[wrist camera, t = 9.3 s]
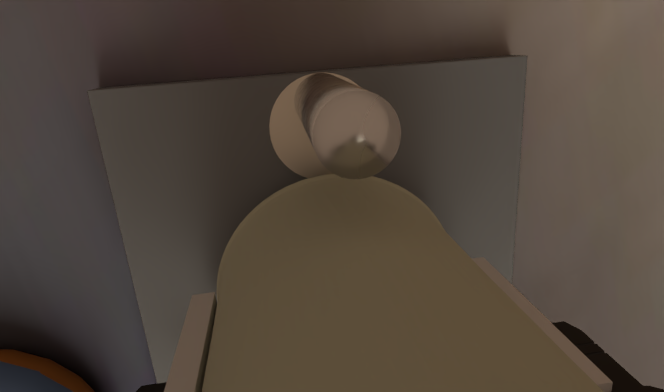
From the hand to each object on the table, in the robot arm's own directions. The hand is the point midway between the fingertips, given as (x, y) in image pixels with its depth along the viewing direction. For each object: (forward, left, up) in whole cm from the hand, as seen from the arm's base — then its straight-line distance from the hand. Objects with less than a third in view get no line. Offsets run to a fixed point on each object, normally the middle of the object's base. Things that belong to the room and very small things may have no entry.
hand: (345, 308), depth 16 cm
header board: (0, 0, -4) cm, 4 cm away
